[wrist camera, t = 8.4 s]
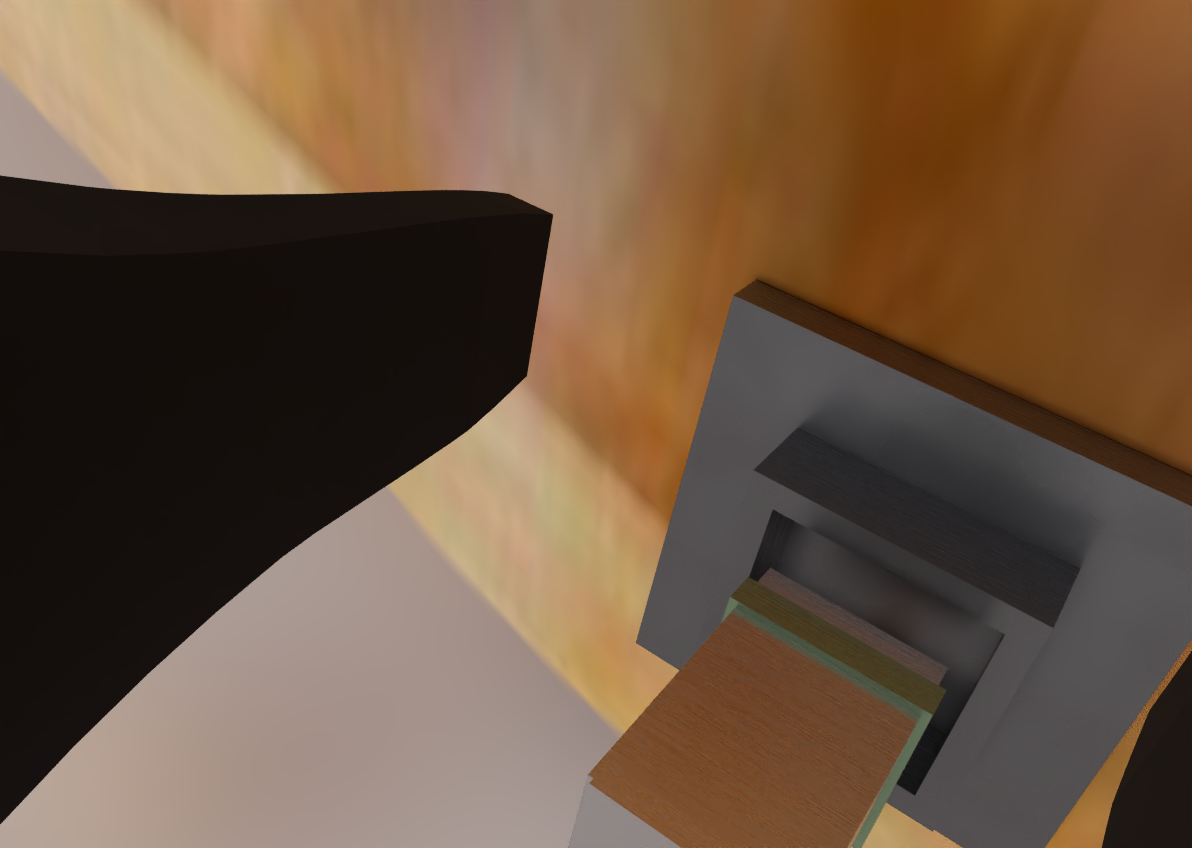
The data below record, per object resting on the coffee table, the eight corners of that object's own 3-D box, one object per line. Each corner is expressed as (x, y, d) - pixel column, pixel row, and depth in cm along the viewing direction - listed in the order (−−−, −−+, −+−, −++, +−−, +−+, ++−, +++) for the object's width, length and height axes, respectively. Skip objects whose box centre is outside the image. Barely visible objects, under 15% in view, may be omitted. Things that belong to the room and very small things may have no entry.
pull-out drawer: (968, 650, 18) (810, 937, 13) (879, 813, 21) (722, 1102, 16) (771, 541, 20) (565, 767, 15) (712, 707, 22) (521, 943, 18)
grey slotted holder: (1268, 510, 18) (1228, 692, 14) (1031, 850, 24) (957, 1046, 20) (755, 279, 22) (616, 374, 18) (656, 621, 28) (533, 748, 24)
